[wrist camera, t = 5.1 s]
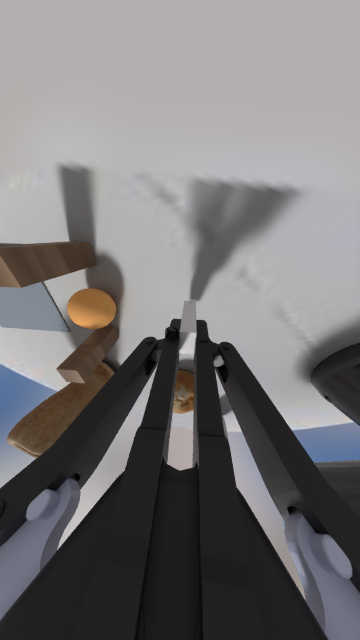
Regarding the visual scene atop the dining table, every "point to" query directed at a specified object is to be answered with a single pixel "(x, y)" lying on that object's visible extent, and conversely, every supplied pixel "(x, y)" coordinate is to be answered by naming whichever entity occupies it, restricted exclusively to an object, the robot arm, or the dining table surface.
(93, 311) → the ball
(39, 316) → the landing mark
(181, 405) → the bread roll
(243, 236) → the dining table surface
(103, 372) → the brown boot
